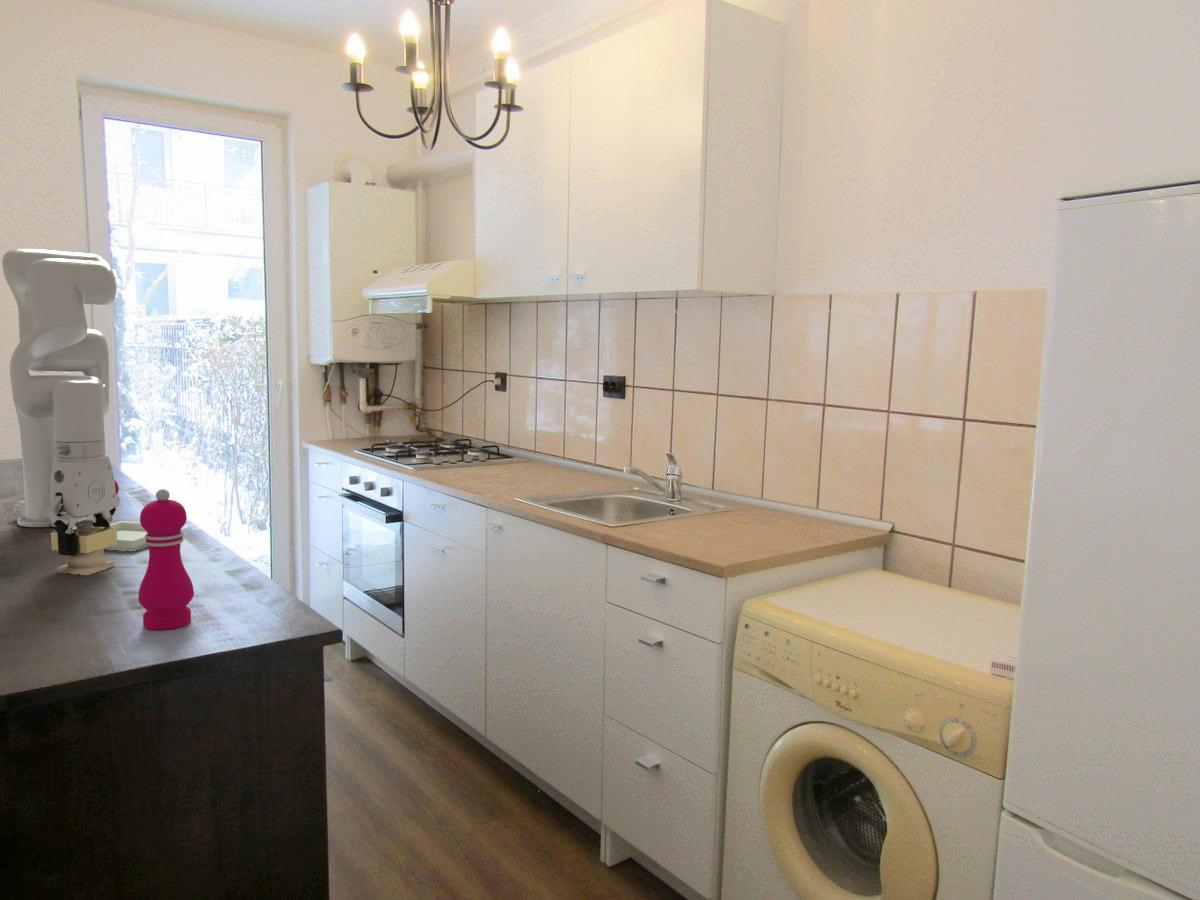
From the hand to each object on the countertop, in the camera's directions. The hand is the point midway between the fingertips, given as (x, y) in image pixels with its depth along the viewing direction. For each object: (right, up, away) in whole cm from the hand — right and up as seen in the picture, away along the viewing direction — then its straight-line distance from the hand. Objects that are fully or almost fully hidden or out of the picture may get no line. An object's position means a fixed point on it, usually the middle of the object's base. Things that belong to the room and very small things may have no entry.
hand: (85, 548), depth 149 cm
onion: (-29, +4, +56) cm, 63 cm away
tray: (-4, -1, +21) cm, 21 cm away
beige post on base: (0, -4, 0) cm, 4 cm away
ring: (0, 0, 0) cm, 0 cm away
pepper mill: (+28, -8, -25) cm, 38 cm away
